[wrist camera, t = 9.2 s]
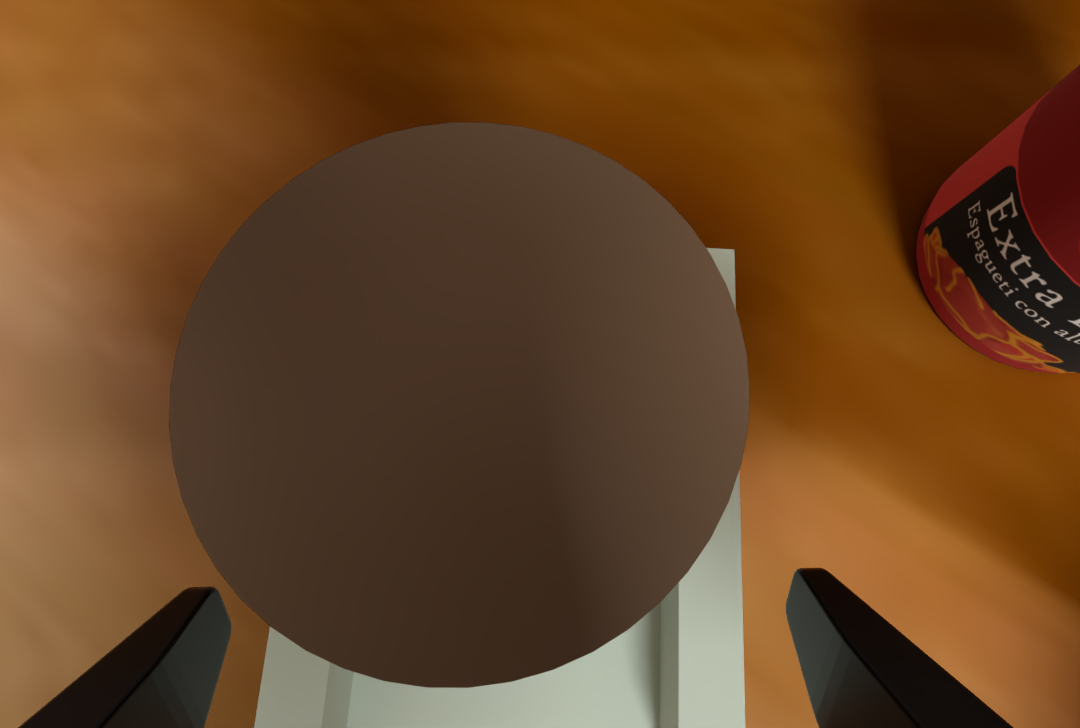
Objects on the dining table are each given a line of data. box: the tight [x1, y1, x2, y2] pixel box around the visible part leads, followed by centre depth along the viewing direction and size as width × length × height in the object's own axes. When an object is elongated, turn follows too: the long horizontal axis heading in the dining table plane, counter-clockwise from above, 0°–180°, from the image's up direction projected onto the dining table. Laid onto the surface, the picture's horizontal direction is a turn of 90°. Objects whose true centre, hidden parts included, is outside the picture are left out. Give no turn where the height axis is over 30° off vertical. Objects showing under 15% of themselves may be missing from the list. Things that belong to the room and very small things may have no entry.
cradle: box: [254, 248, 745, 728], centre depth 17 cm, size 13×11×3 cm
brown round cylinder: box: [169, 122, 750, 688], centre depth 11 cm, size 4×4×13 cm
